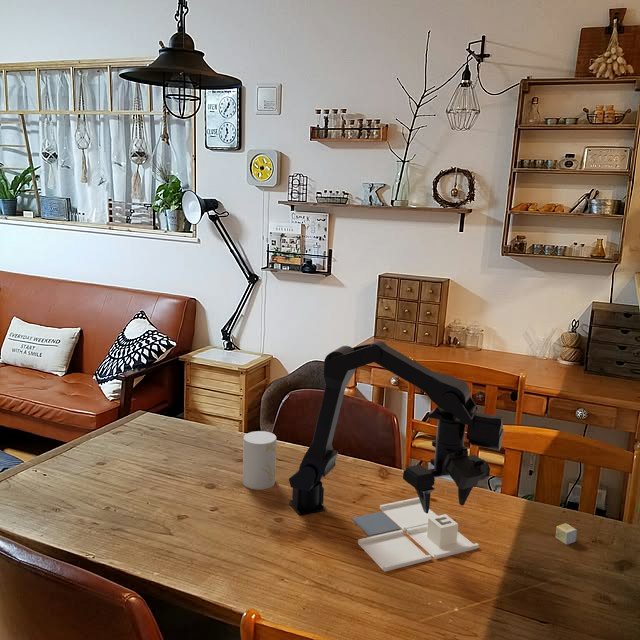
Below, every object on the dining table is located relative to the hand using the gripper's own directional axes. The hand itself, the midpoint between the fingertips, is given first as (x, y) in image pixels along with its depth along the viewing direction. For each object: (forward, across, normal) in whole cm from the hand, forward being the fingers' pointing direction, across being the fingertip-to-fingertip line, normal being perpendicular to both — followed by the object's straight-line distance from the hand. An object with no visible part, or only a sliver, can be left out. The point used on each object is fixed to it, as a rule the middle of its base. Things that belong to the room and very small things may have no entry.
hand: (443, 508), depth 137 cm
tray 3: (+8, 0, 0) cm, 8 cm away
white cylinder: (+8, -27, +40) cm, 49 cm away
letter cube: (+7, 0, 0) cm, 7 cm away
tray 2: (+8, -12, 0) cm, 14 cm away
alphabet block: (+8, +26, -10) cm, 29 cm away
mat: (+8, -10, +11) cm, 17 cm away
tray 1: (+8, 0, +11) cm, 14 cm away
